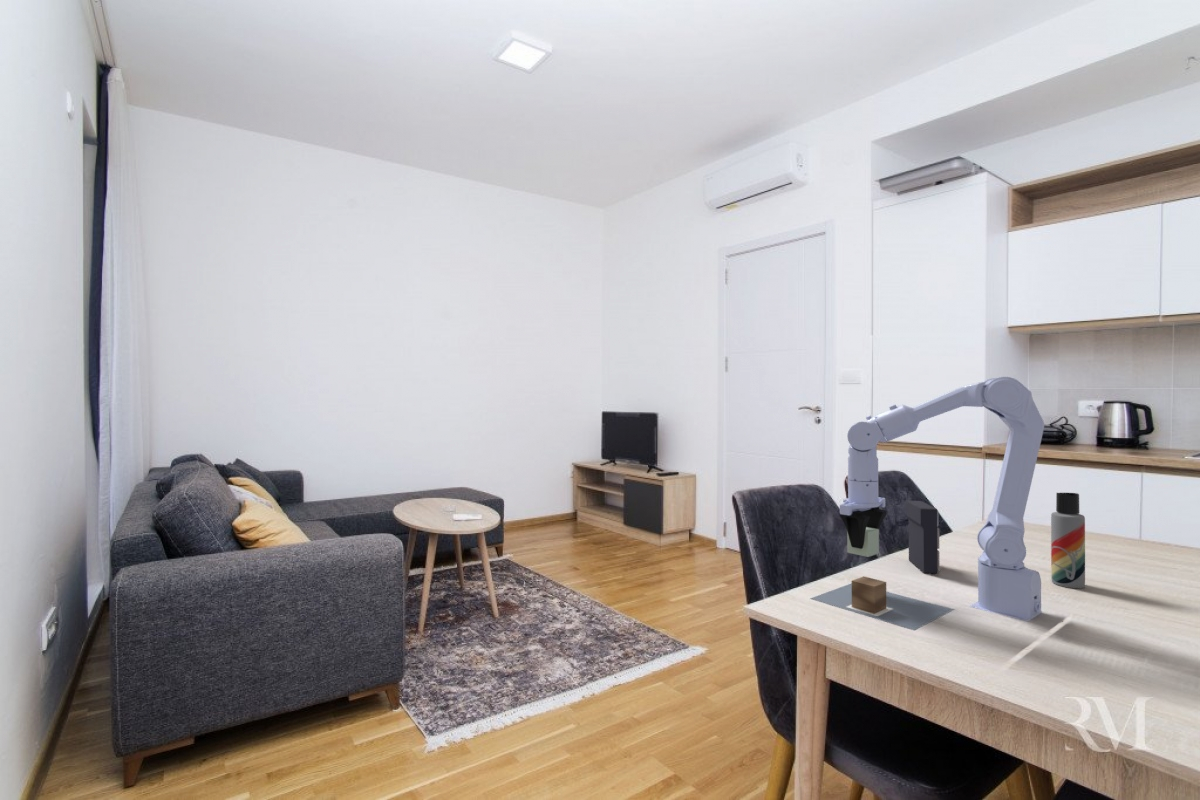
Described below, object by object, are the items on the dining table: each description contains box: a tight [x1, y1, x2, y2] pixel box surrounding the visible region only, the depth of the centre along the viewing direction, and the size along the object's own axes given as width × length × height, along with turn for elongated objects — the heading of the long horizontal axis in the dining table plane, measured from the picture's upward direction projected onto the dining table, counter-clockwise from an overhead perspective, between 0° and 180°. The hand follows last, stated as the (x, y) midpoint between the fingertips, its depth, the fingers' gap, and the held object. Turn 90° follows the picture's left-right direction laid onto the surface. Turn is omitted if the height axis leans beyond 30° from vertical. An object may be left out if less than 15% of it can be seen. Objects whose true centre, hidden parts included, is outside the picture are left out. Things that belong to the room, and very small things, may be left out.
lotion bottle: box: [1050, 492, 1086, 589], centre depth 125 cm, size 6×6×20 cm
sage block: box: [846, 527, 880, 558], centre depth 120 cm, size 4×4×5 cm
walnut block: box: [851, 575, 887, 614], centre depth 110 cm, size 4×4×5 cm
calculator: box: [905, 500, 941, 575], centre depth 138 cm, size 11×4×15 cm, turn 168°
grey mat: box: [809, 582, 955, 631], centre depth 112 cm, size 20×16×1 cm
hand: (863, 545), depth 120 cm, fingers closed on sage block, 4 cm apart
